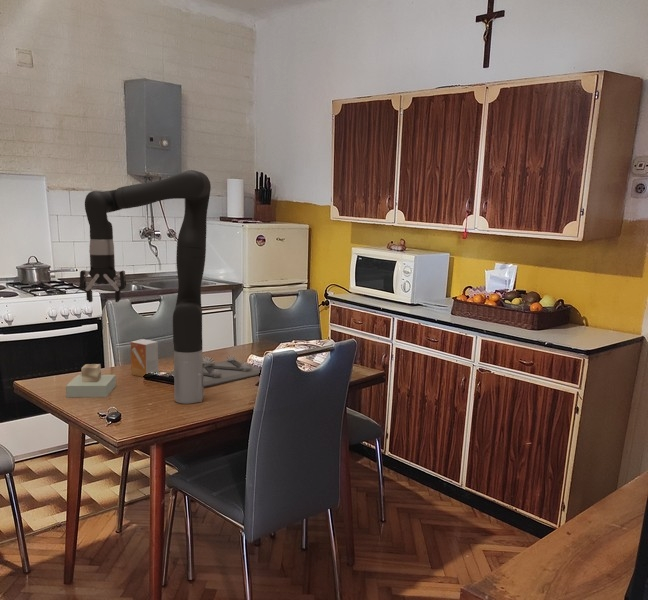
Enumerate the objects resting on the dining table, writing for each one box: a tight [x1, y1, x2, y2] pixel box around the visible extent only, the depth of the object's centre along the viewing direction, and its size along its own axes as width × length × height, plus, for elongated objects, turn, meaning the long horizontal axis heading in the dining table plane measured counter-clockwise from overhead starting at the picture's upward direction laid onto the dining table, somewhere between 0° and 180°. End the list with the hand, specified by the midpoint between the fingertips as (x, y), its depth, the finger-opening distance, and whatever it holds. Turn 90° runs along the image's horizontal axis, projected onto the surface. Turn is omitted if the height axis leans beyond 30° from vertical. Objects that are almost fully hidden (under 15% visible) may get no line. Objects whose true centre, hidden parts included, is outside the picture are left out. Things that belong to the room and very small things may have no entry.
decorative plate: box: [169, 354, 261, 389], centre depth 223 cm, size 30×22×7 cm
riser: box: [65, 374, 117, 398], centre depth 200 cm, size 13×13×4 cm
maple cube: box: [81, 363, 102, 382], centre depth 199 cm, size 5×5×5 cm
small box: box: [130, 338, 159, 378], centre depth 221 cm, size 8×6×13 cm
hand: (103, 301), depth 192 cm, fingers open, 8 cm apart
